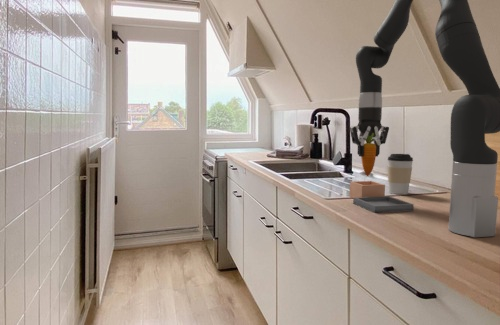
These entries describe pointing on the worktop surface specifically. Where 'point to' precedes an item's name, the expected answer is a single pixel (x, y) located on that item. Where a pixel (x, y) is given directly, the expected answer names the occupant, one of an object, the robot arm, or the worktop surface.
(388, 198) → the charcoal tray
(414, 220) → the worktop surface
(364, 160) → the carrot
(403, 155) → the coffee cup
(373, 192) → the terracotta open box
